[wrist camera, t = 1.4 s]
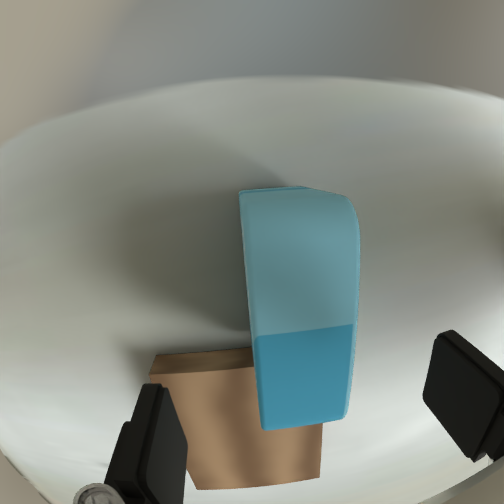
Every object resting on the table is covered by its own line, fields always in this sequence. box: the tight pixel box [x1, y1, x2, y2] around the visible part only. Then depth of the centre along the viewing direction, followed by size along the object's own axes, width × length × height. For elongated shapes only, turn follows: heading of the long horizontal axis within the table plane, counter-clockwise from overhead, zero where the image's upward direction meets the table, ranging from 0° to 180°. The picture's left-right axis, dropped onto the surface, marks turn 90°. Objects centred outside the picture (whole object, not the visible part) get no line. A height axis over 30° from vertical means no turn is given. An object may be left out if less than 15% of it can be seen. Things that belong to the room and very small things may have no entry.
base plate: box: [149, 347, 323, 490], centre depth 27 cm, size 14×18×3 cm
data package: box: [239, 186, 360, 431], centre depth 18 cm, size 12×4×12 cm, turn 4°
